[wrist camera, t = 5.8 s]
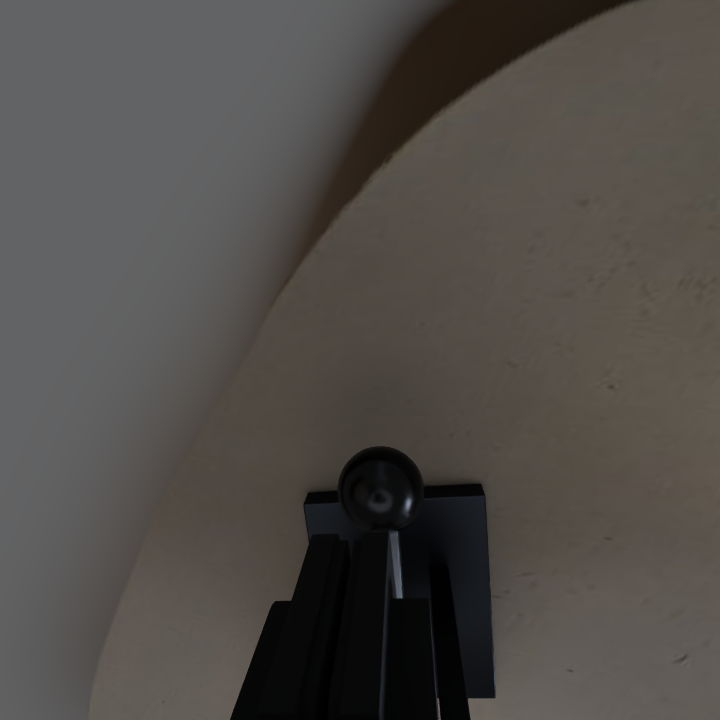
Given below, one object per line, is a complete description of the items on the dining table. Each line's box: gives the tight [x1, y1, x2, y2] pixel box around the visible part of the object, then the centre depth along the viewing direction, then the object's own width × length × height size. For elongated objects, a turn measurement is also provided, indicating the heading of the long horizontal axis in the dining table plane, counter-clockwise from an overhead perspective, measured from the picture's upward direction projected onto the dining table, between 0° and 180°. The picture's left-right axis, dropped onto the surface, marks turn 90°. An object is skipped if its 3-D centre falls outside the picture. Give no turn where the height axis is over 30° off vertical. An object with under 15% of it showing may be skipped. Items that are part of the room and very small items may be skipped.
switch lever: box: [338, 446, 424, 598], centre depth 16 cm, size 13×3×3 cm, turn 6°
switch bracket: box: [304, 484, 496, 720], centre depth 20 cm, size 12×9×12 cm
